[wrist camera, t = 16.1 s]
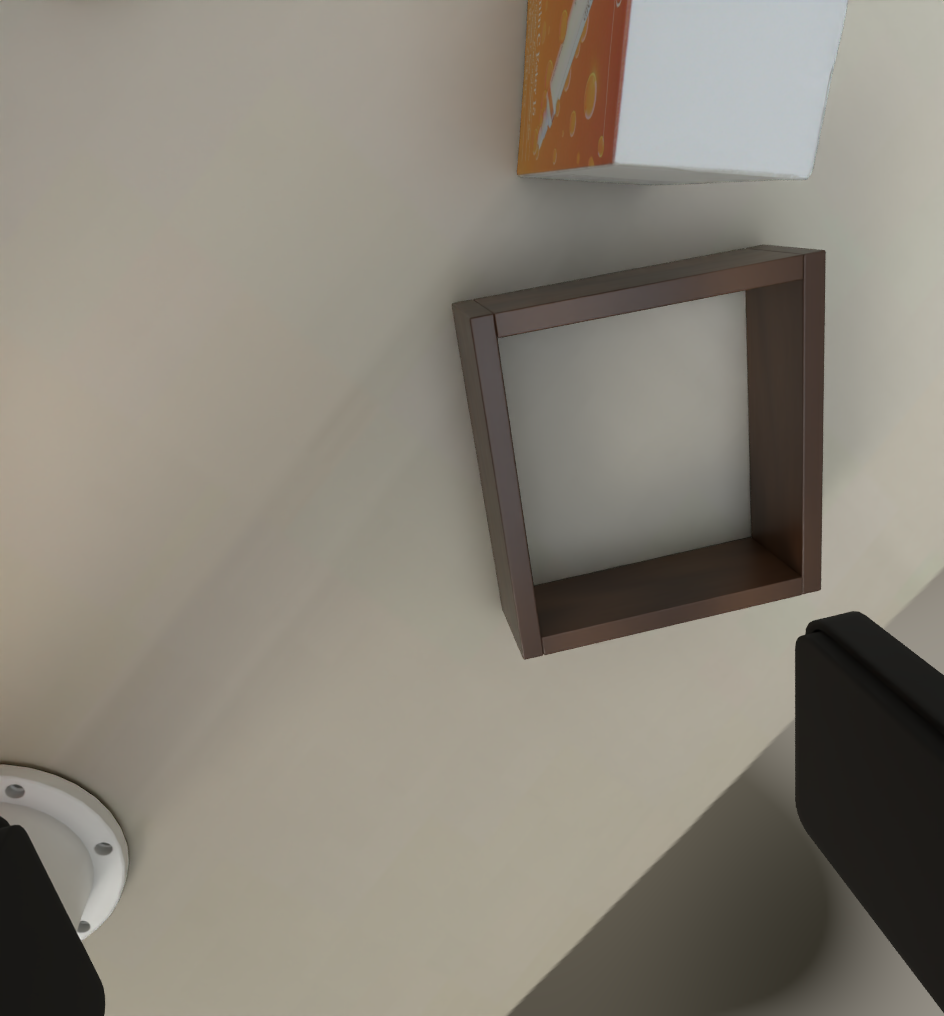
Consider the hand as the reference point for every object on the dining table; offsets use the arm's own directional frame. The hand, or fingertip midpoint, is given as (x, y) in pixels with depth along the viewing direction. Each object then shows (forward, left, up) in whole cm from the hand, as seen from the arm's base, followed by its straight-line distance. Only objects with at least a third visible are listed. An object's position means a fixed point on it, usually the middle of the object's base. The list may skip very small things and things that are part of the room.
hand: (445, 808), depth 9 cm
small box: (+12, +10, -28) cm, 32 cm away
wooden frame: (+12, -6, -28) cm, 31 cm away
